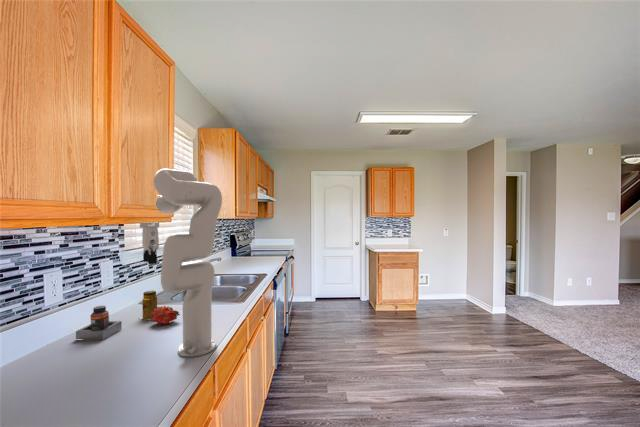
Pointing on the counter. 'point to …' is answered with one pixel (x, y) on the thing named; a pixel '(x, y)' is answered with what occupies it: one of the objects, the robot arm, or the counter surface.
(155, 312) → the dragon fruit
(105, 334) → the square tray frame
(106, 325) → the supplement bottle
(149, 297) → the condiment
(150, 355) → the counter surface
